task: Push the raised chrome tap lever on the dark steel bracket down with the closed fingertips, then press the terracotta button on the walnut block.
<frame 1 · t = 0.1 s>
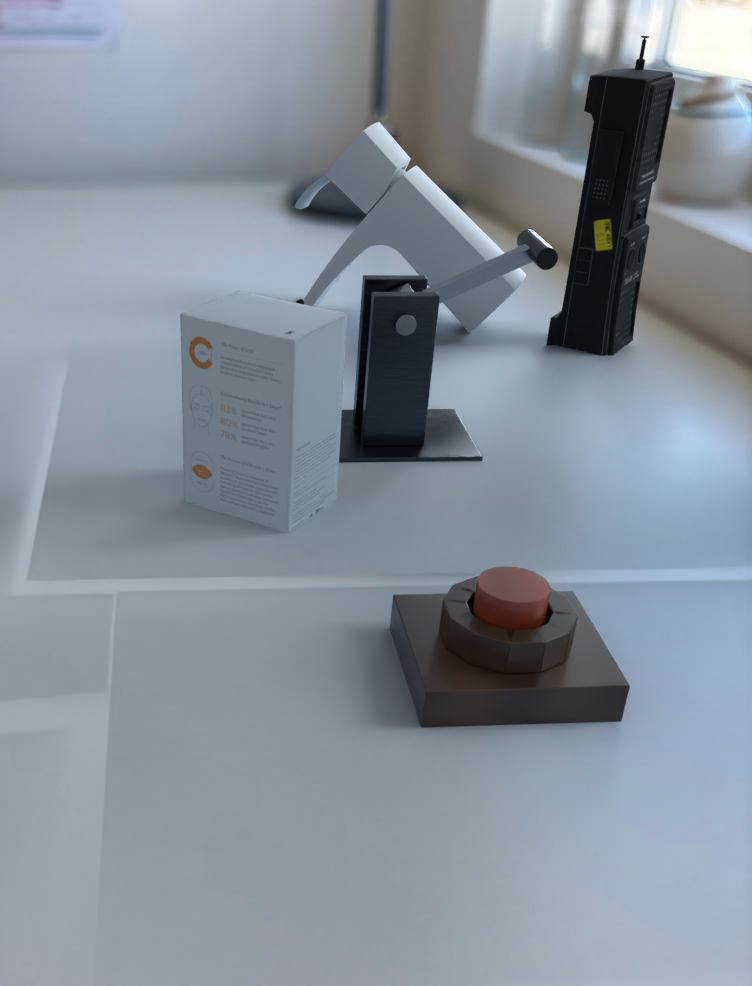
wireless earbuds: (292, 361, 98), on the table
tap lever: (462, 282, 77), point 12 cm above the table, hinge at 25.0°
small box: (260, 513, 74), on the table
button: (511, 598, 56), point 4 cm above the table, slide at 0.1 cm
portable radio: (586, 353, 102), on the table
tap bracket: (386, 447, 83), on the table
faucet: (403, 319, 109), on the table
button block: (499, 672, 59), on the table
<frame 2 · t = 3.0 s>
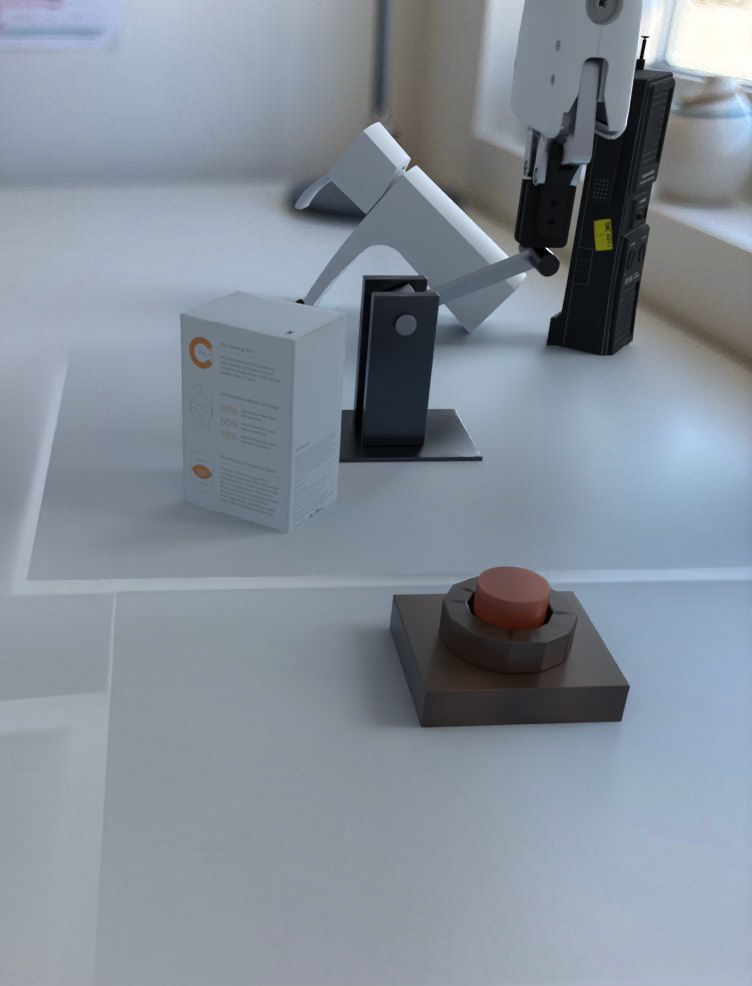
hand: (539, 244, 76), 15 cm above the table, tool pointing down, fingers closed
tap lever: (463, 286, 77), point 12 cm above the table, hinge at 22.2°, touching gripper
everything else where it was.
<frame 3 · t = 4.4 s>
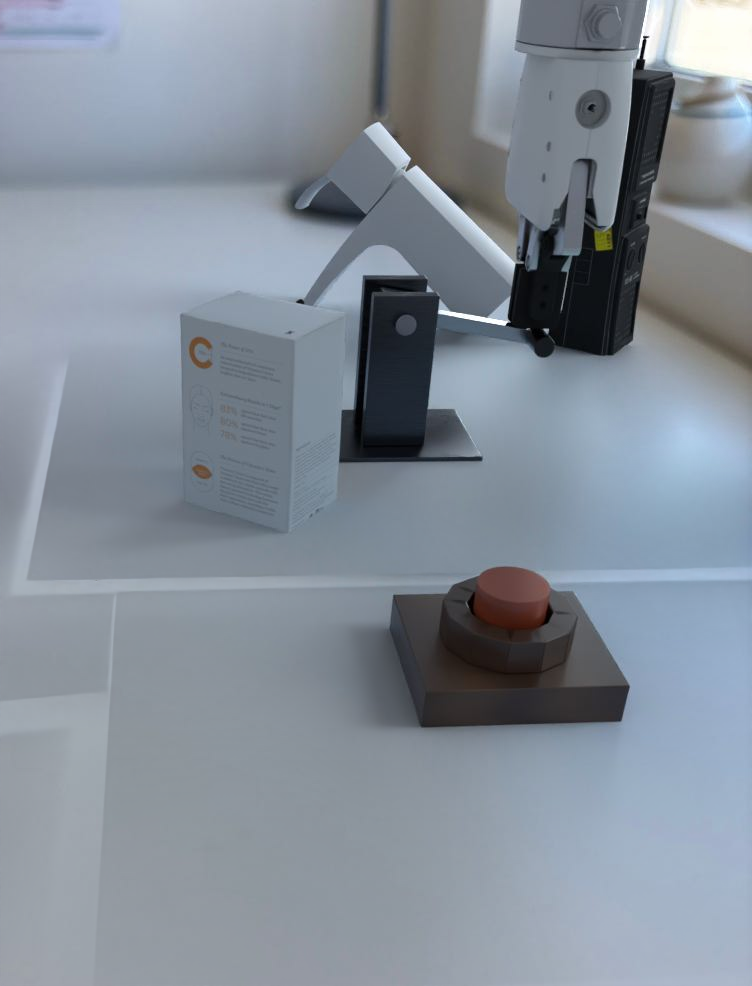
hand: (532, 324, 79), 9 cm above the table, tool pointing down, fingers closed
tap lever: (462, 323, 78), point 9 cm above the table, hinge at -9.8°, touching gripper
everything else where it was.
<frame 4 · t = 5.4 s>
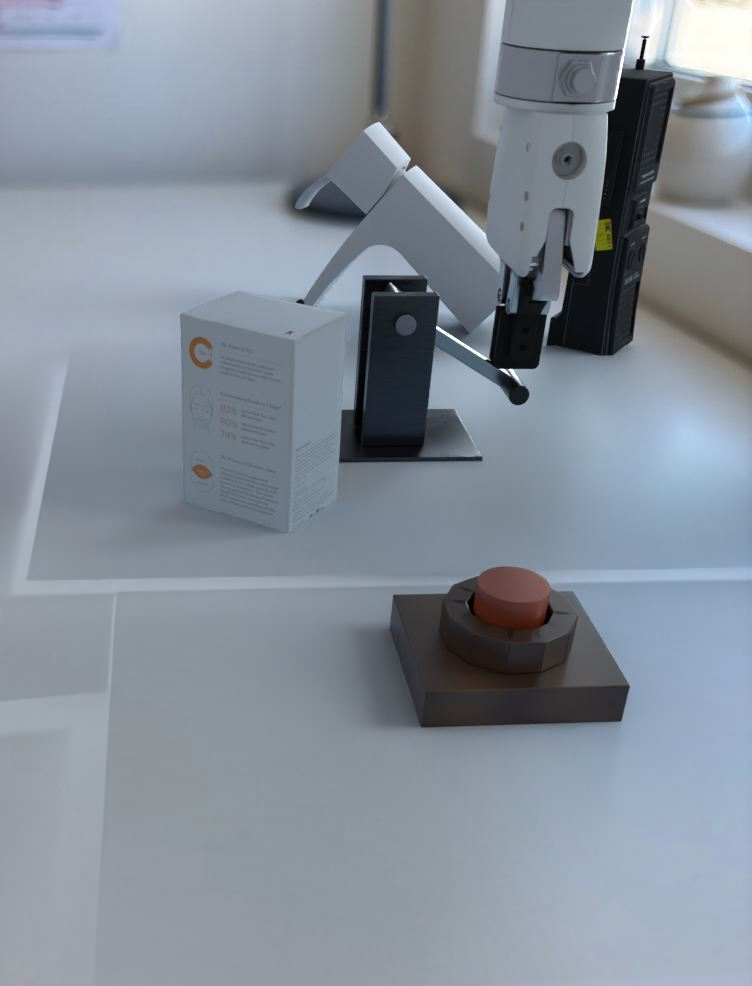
hand: (513, 364, 80), 6 cm above the table, tool pointing down, fingers closed
tap lever: (451, 345, 79), point 8 cm above the table, hinge at -30.8°, touching gripper
everything else where it was.
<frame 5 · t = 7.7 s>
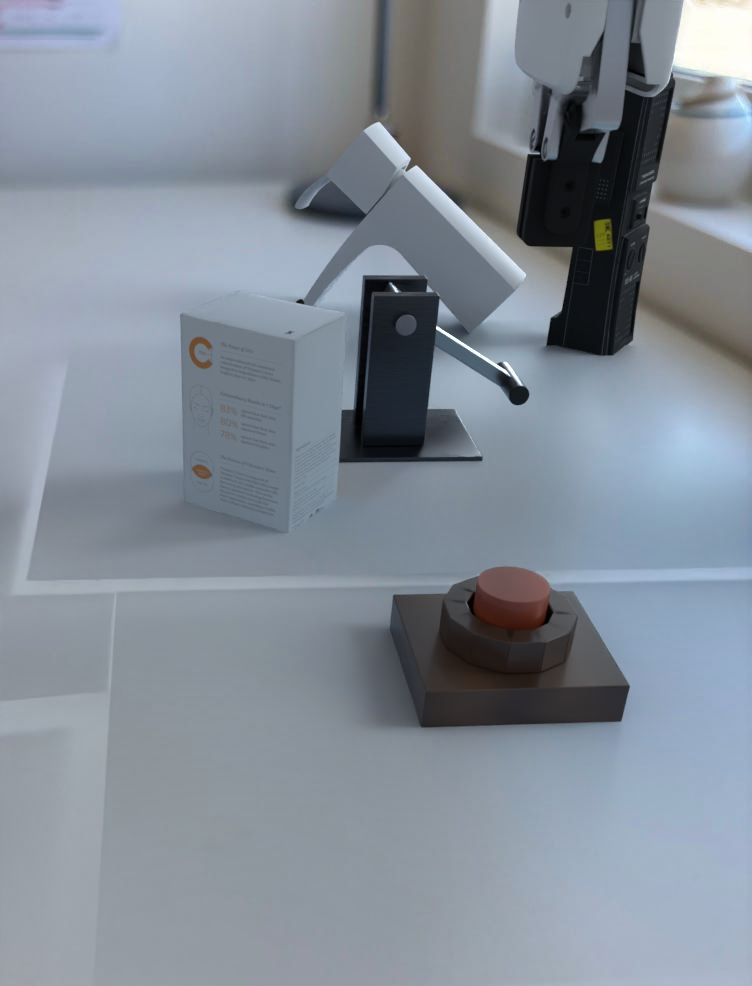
hand: (550, 241, 57), 19 cm above the table, tool pointing down, fingers closed
tap lever: (451, 345, 79), point 8 cm above the table, hinge at -30.8°
everything else where it was.
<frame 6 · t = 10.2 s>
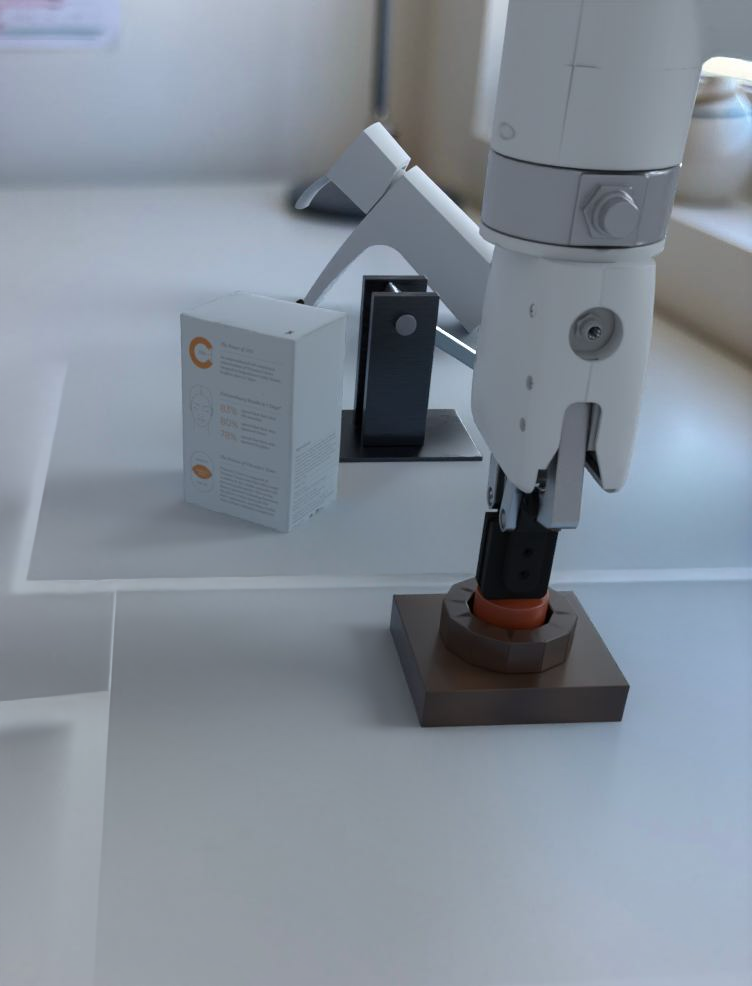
hand: (509, 590, 56), 5 cm above the table, tool pointing down, fingers closed
button: (510, 605, 57), point 4 cm above the table, slide at -0.3 cm, touching gripper
everything else where it was.
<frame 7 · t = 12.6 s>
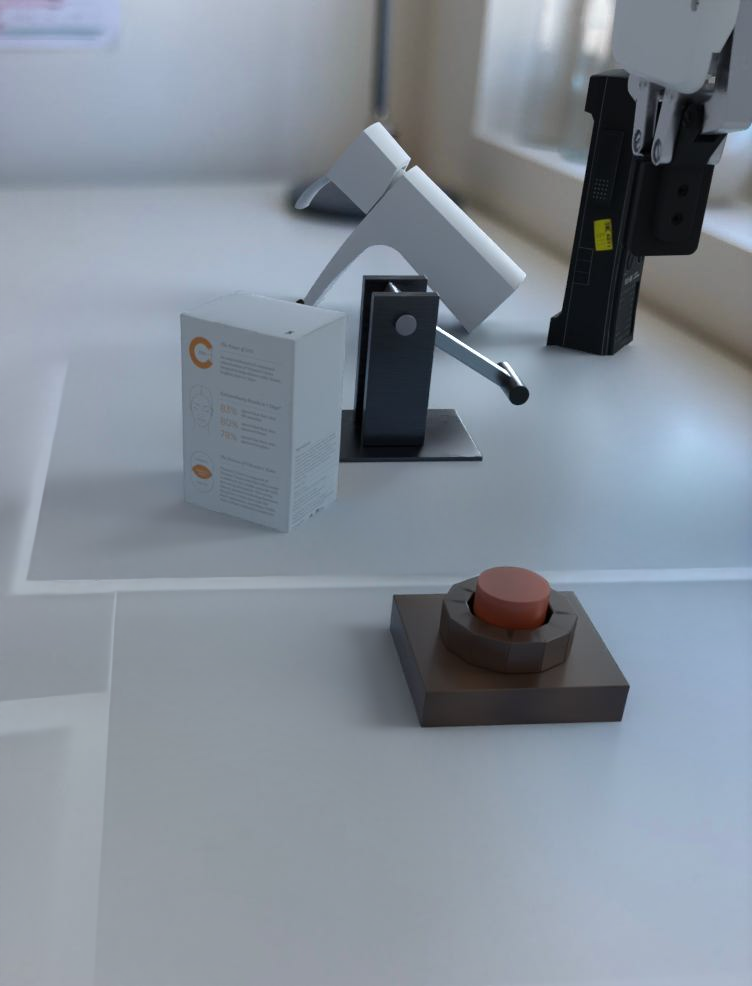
hand: (656, 250, 53), 20 cm above the table, tool pointing down, fingers closed
button: (511, 598, 56), point 4 cm above the table, slide at 0.1 cm
everything else where it was.
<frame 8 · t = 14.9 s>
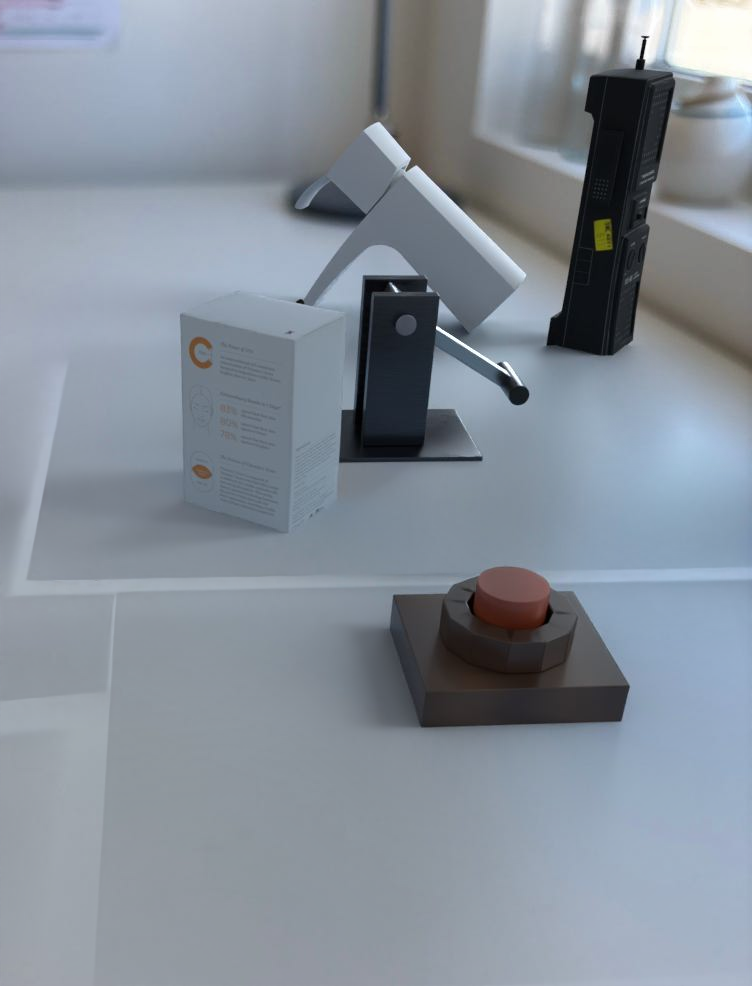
nothing on the table moved.
at the end: tap lever at -31° (first picture: +25°); button pushed in 1.1 cm at the most during the clip, back to where it started at the end; button slide at 0.1 cm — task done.
